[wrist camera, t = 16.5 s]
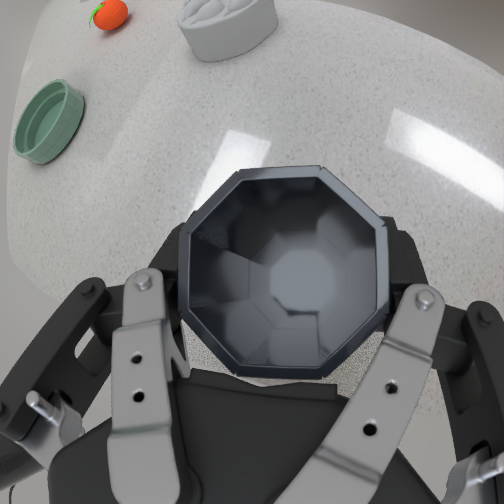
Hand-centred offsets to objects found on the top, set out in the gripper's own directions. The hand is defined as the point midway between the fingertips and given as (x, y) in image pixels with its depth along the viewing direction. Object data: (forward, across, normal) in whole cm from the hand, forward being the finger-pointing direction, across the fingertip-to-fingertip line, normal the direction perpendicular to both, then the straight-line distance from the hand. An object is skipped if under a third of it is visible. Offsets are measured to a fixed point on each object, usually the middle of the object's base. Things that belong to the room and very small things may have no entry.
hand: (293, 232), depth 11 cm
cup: (+3, 0, -5) cm, 6 cm away
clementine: (+44, -36, +18) cm, 59 cm away
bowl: (+28, -41, +2) cm, 50 cm away
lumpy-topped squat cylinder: (+36, -11, +10) cm, 39 cm away
